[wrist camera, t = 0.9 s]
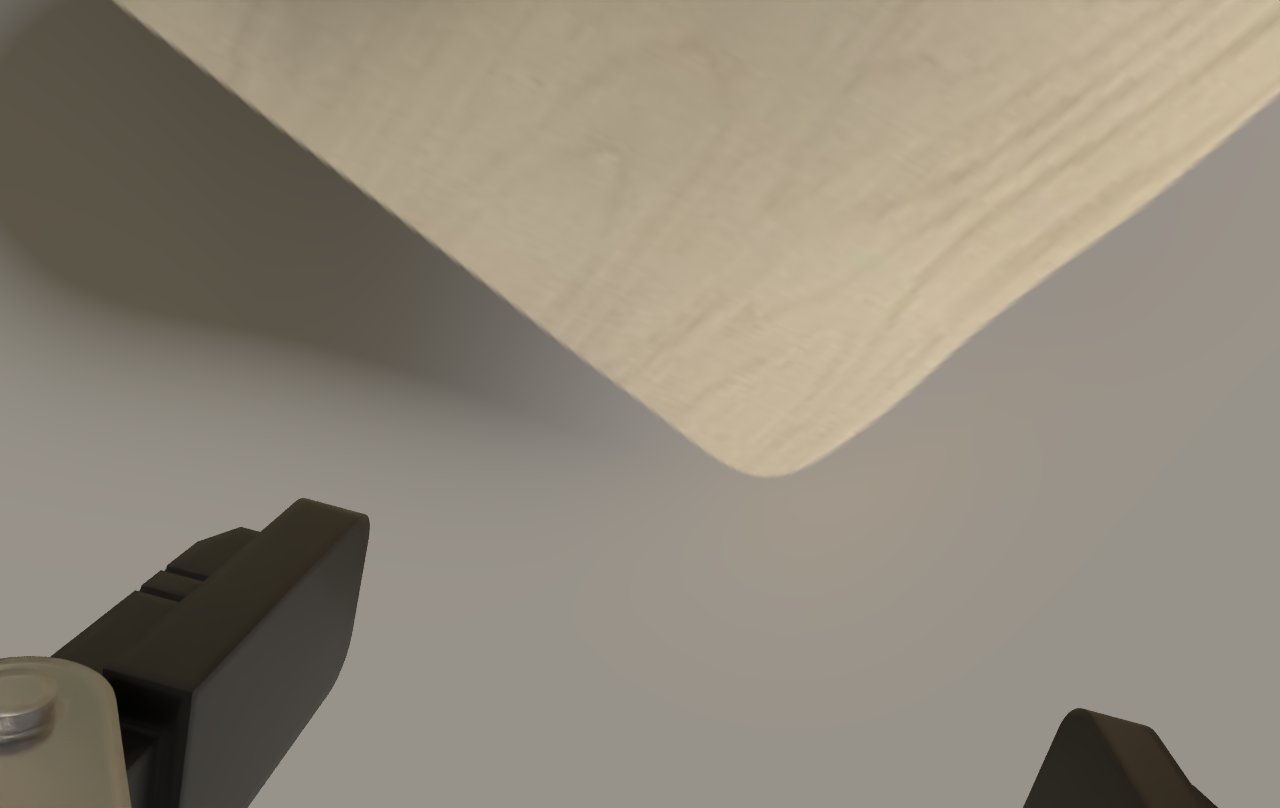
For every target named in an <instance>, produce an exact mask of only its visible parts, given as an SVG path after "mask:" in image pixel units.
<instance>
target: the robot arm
mask: <svg viewBox="0 0 1280 808" xmlns="http://www.w3.org/2000/svg"><path fill="white" fill-rule="evenodd" d="M369 529H370V523H369V518H368V516H367V515H365V514H362V513H358V512H354V511H351V510H347V509H343V508H340V507H336V506H332V505H328V504H324V503H321V502H317V501H313V500H310V499H306V498H301V499H299V500H297V501H296V502H295V503H293V504H292V505H291V506H290V507H289V508H288V509H287V510H285V511H284V512H283V513H282V514H281V515H280V516H278V517H277V518H276V519H275V520H274V521H273V522H271V523H270V524H269V525H268V526H267V527H266V528H265V529H263V530H262V531H261V532H258V531H254V530H250V529H247V528H243V527H239V528H236V529H233V530H230V531H228V532H225V533H222V534H219V535H216V536H213V537H210V538H207V539H204V540H201V541H198V542H197V543H195V544H194V545H193V546H191V547H190V548H189V549H188V550H186V551H185V552H184V553H182V554H181V555H180V556H179V557H177V558H176V559H175V560H173V561H172V562H171V563H170V564H168V565H167V568H166V570H165V571H162V570H161V571H160V572H158V573H157V574H156V575H154V576H153V577H152V578H151V579H149V580H148V581H147V582H145V583H144V584H143V585H142V586H141V589H140V591H134V592H133V593H131V594H130V595H129V596H127V597H126V598H125V599H124V600H122V601H121V602H120V603H119V604H117V605H116V606H115V607H113V608H112V609H111V610H110V611H108V612H107V613H106V614H104V615H103V616H102V617H101V618H99V619H98V620H97V621H96V622H94V623H93V624H92V625H90V626H89V627H88V628H87V629H85V630H84V631H83V632H81V633H80V634H79V635H78V636H76V637H75V638H74V639H73V640H71V641H70V642H69V643H67V644H66V645H65V646H63V647H62V648H61V649H60V650H58V651H57V652H56V653H55V654H53V655H52V656H51V657H36V656H26V657H25V656H24V657H9V658H2V659H0V808H248V806H249V805H250V803H251V802H252V801H253V799H254V798H255V796H256V795H257V794H258V792H259V791H260V789H261V788H262V786H263V785H264V784H265V782H266V781H267V779H268V778H269V777H270V775H271V774H272V773H273V771H274V770H275V768H276V767H277V766H278V764H279V763H280V761H281V760H282V758H283V757H284V756H285V754H286V753H287V751H288V750H289V748H290V747H291V746H292V744H293V743H294V742H295V740H296V739H297V737H298V736H299V734H300V733H301V732H302V730H303V729H304V728H305V726H306V725H307V723H308V722H309V720H310V719H311V718H312V716H313V715H314V713H315V712H316V710H317V709H318V708H319V706H320V705H321V704H322V702H323V701H324V699H325V698H326V697H327V695H328V694H329V692H330V691H331V689H332V687H333V686H334V684H335V682H336V680H337V678H338V676H339V673H340V671H341V668H342V666H343V663H344V661H345V658H346V655H347V651H348V648H349V644H350V640H351V636H352V631H353V625H354V619H355V613H356V608H357V602H358V596H359V590H360V585H361V579H362V573H363V568H364V562H365V556H366V551H367V544H368V539H369ZM1023 808H1218V807H1217V806H1216V805H1214V804H1213V803H1212V802H1211V801H1210V800H1209V799H1208V798H1207V797H1206V796H1204V795H1203V794H1202V793H1201V792H1200V791H1199V790H1198V789H1197V788H1196V787H1195V786H1193V785H1191V783H1190V782H1189V780H1188V779H1187V777H1186V776H1185V774H1184V773H1183V772H1182V770H1181V769H1180V767H1179V766H1178V764H1177V763H1176V761H1175V760H1174V758H1173V757H1172V756H1171V754H1170V753H1169V751H1168V750H1167V748H1166V747H1165V745H1164V744H1163V742H1162V741H1161V739H1160V738H1159V737H1158V735H1157V734H1156V733H1155V732H1154V730H1153V729H1151V728H1150V727H1148V726H1145V725H1141V724H1138V723H1134V722H1130V721H1127V720H1123V719H1119V718H1115V717H1111V716H1108V715H1104V714H1101V713H1097V712H1093V711H1089V710H1086V709H1081V708H1077V709H1074V710H1072V711H1071V712H1069V713H1068V714H1067V716H1066V717H1065V718H1064V720H1063V721H1062V723H1061V724H1060V726H1059V729H1058V731H1057V733H1056V735H1055V737H1054V740H1053V742H1052V744H1051V746H1050V749H1049V751H1048V753H1047V755H1046V758H1045V760H1044V762H1043V764H1042V767H1041V769H1040V771H1039V773H1038V776H1037V778H1036V780H1035V782H1034V785H1033V787H1032V789H1031V791H1030V793H1029V796H1028V798H1027V800H1026V802H1025V805H1024V807H1023Z"/></svg>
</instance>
